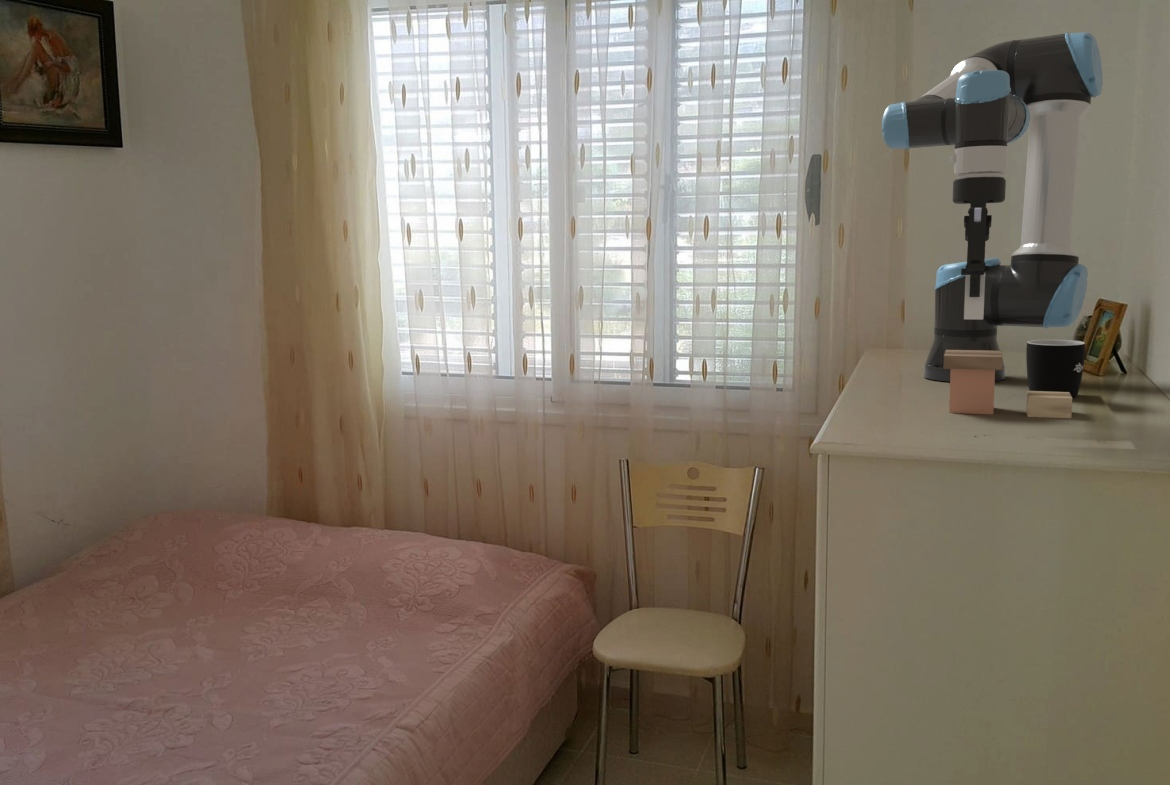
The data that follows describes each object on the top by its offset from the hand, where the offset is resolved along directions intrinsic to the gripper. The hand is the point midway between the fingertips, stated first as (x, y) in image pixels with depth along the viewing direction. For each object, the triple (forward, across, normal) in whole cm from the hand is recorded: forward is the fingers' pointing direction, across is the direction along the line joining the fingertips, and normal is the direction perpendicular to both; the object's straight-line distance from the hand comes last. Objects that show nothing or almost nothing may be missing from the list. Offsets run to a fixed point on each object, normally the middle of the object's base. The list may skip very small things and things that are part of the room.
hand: (974, 316), depth 158 cm
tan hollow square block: (+16, 0, 0) cm, 16 cm away
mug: (+16, -20, +13) cm, 28 cm away
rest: (+16, +1, +11) cm, 19 cm away
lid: (+8, 0, 0) cm, 8 cm away
